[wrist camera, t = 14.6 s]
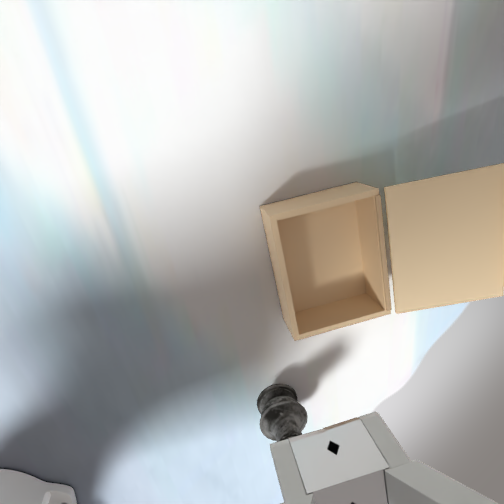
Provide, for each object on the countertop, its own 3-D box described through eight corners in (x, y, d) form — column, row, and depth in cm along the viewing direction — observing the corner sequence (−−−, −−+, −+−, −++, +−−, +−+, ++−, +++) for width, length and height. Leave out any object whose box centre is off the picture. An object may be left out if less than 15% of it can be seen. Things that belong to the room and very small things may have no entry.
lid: (399, 318, 39) (395, 311, 41) (513, 299, 38) (504, 292, 40) (388, 189, 35) (383, 186, 36) (517, 163, 34) (508, 161, 35)
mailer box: (369, 294, 45) (391, 314, 40) (283, 318, 44) (295, 342, 39) (356, 181, 40) (380, 188, 36) (259, 206, 40) (269, 216, 35)
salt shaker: (293, 420, 49) (324, 506, 38) (250, 418, 48) (270, 507, 37) (303, 383, 48) (339, 461, 36) (259, 380, 46) (283, 460, 35)
